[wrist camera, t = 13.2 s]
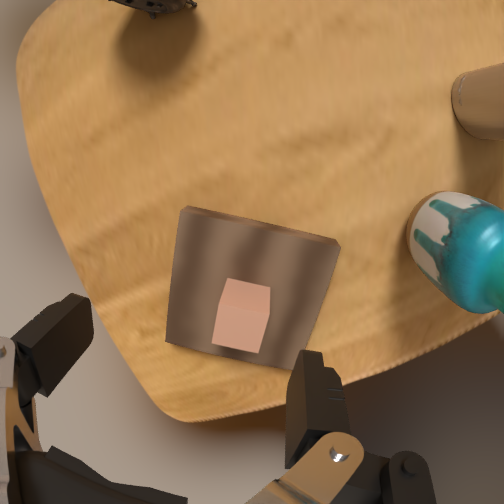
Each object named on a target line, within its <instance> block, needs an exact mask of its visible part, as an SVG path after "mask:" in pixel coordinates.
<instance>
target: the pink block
mask: <svg viewBox="0 0 504 504" xmlns="http://www.w3.org/2000/svg"><path fill="white" fill-rule="evenodd" d="M269 315H270V287H266V286H262V285H257V284H253V283H248V282H244V281H239V280H235V279H230V278H227V281H226V284H225V287H224V290H223V293H222V296H221V299H220V302H219V305H218V311H217V316H216V322H215V327H214V332H213V338H212V343H213V344H217V345H222V346H226V347H230V348H235V349H240V350H244V351H249V352H254V353H258V352H259V349H260V346H261V342H262V339H263V335H264V332H265V329H266V325H267V322H268V318H269Z"/></svg>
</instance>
